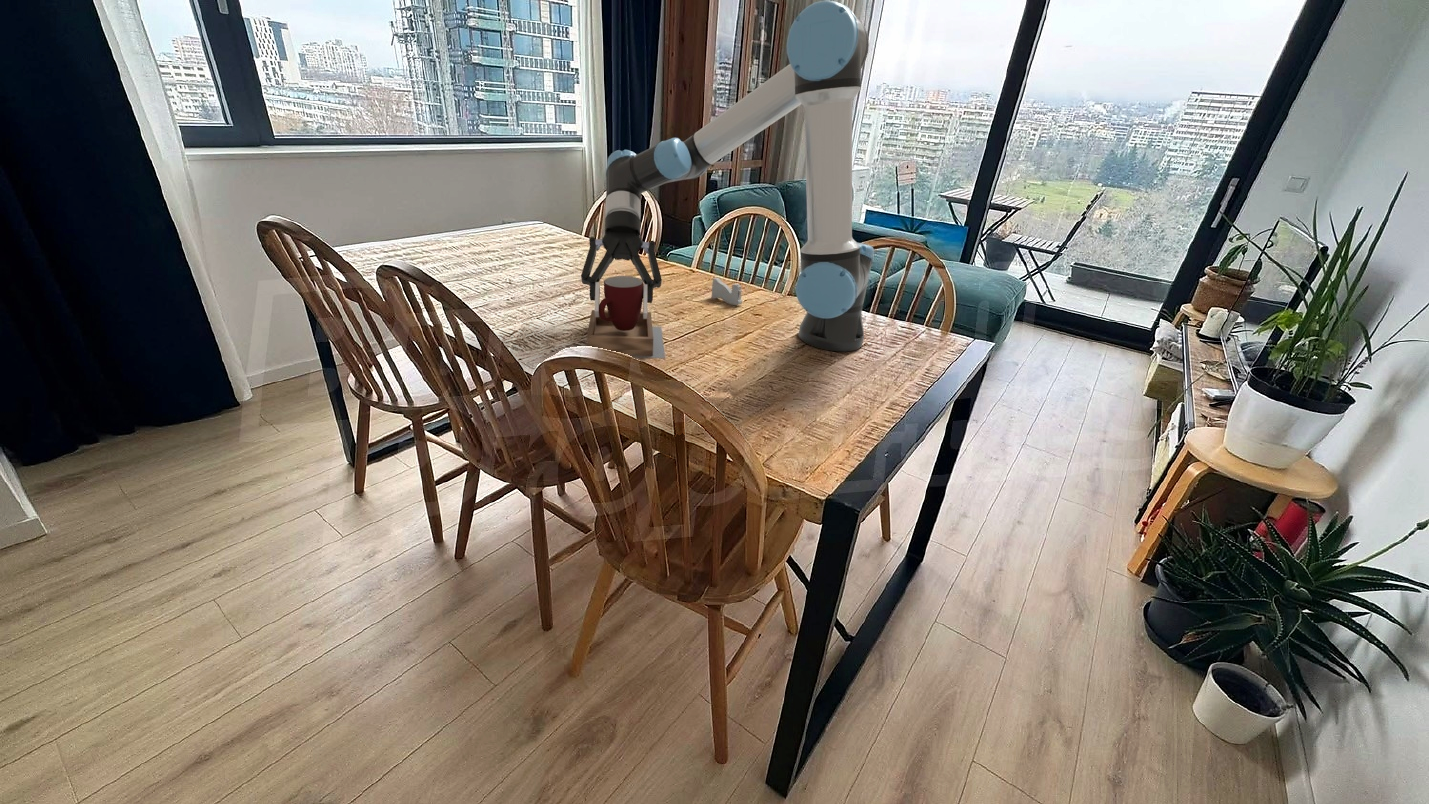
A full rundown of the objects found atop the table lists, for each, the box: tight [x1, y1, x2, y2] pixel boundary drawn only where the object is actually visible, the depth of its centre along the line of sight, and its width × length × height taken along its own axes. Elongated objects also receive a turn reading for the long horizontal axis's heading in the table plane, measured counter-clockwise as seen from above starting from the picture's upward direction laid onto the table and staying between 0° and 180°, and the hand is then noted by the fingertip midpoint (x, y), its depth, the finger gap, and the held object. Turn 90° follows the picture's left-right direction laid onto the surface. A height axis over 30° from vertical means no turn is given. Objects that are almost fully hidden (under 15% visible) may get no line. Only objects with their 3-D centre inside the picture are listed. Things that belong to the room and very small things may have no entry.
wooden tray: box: [586, 309, 653, 356], centre depth 121 cm, size 13×16×4 cm
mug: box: [599, 275, 644, 331], centre depth 118 cm, size 11×8×10 cm
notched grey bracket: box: [711, 277, 744, 306], centre depth 153 cm, size 6×1×10 cm
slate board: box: [585, 325, 666, 360], centre depth 122 cm, size 16×18×1 cm
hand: (621, 315), depth 116 cm, fingers closed on mug, 9 cm apart
